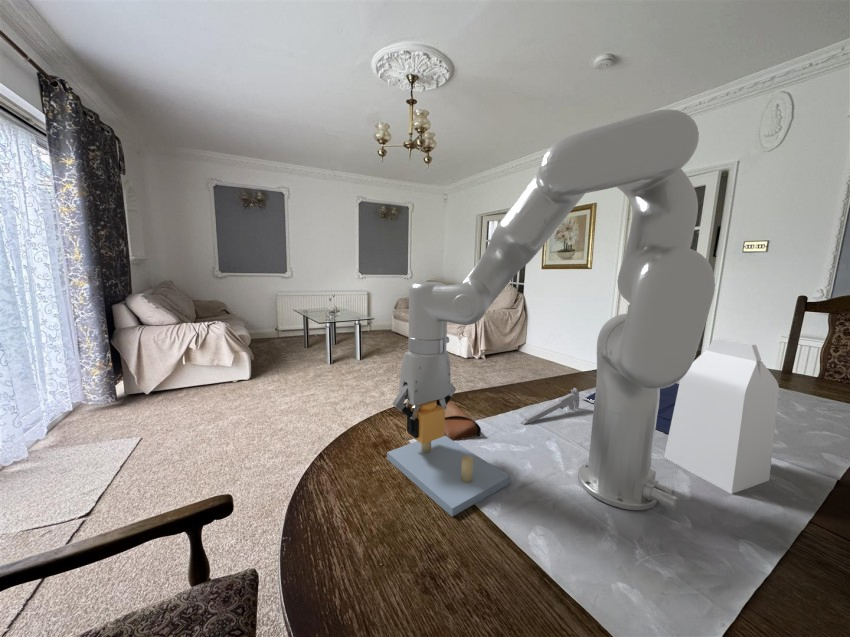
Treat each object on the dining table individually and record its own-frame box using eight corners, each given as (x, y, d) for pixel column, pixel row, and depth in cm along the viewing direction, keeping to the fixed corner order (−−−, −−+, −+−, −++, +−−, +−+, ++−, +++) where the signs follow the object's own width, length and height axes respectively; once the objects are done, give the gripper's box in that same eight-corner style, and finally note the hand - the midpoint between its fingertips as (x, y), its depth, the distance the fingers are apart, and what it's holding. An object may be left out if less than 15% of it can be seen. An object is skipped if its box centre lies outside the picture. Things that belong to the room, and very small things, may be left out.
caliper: (575, 408, 96) (576, 386, 95) (578, 409, 95) (580, 388, 94) (520, 424, 86) (522, 400, 85) (524, 426, 86) (525, 402, 84)
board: (509, 483, 63) (511, 456, 62) (452, 516, 54) (452, 485, 53) (439, 438, 78) (440, 416, 77) (387, 459, 70) (387, 433, 69)
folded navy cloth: (730, 407, 95) (731, 395, 94) (669, 445, 81) (670, 431, 81) (641, 380, 116) (641, 370, 115) (581, 407, 103) (581, 396, 102)
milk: (663, 457, 72) (680, 336, 67) (699, 448, 76) (717, 333, 71) (731, 493, 61) (756, 351, 56) (769, 480, 65) (795, 346, 60)
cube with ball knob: (444, 436, 70) (445, 401, 69) (422, 444, 66) (423, 408, 65) (427, 425, 74) (428, 393, 73) (406, 432, 71) (406, 398, 70)
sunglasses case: (418, 411, 93) (429, 389, 93) (437, 419, 96) (449, 398, 96) (449, 443, 76) (464, 416, 77) (472, 452, 79) (485, 426, 80)
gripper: (447, 336, 75) (445, 413, 78) (379, 346, 65) (379, 435, 68) (472, 343, 69) (468, 426, 72) (401, 355, 59) (400, 452, 62)
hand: (425, 430), depth 70 cm, fingers closed on cube with ball knob, 5 cm apart
